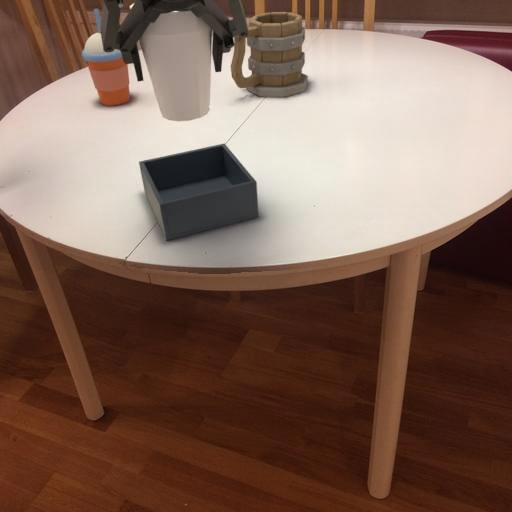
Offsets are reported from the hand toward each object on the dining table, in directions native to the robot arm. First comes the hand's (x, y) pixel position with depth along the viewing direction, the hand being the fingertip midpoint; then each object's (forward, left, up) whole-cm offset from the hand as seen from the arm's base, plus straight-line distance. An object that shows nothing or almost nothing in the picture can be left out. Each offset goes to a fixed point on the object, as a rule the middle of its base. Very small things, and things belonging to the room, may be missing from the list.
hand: (178, 66), depth 68 cm
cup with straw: (-5, +45, -19) cm, 49 cm away
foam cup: (-1, -3, -5) cm, 6 cm away
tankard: (+26, +35, -19) cm, 47 cm away
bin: (-1, -4, -19) cm, 19 cm away
